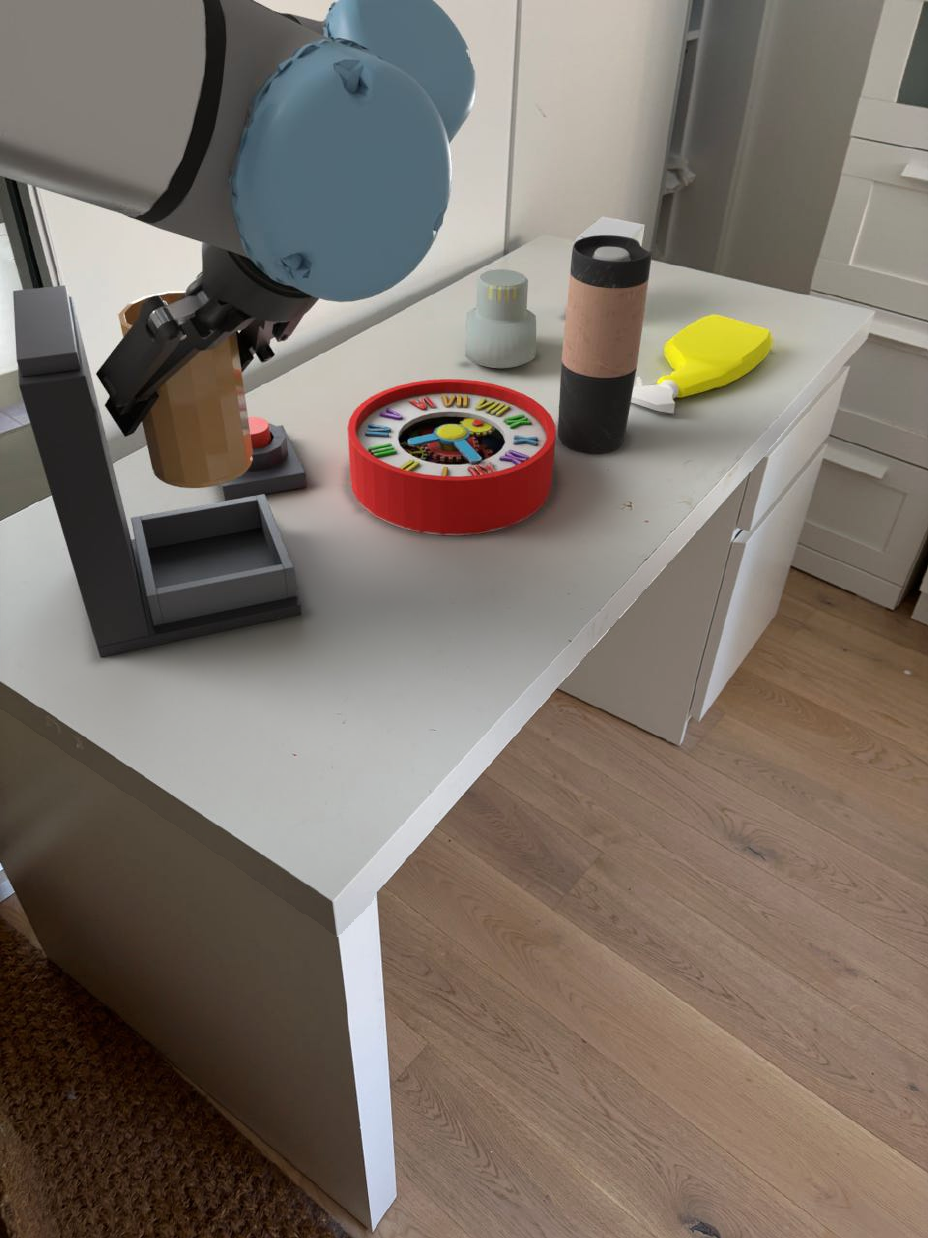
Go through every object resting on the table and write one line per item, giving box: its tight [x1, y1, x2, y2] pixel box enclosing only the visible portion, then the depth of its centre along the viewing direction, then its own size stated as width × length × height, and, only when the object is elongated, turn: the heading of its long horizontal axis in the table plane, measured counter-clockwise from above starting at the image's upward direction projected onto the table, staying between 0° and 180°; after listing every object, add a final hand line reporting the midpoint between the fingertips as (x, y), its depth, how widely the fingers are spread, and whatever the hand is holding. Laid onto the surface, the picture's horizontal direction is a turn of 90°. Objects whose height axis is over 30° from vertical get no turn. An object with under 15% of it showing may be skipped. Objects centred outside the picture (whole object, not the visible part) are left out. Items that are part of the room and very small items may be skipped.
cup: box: [117, 290, 253, 489], centre depth 71 cm, size 8×8×12 cm
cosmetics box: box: [574, 216, 645, 247], centre depth 127 cm, size 10×6×10 cm, turn 155°
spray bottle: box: [631, 313, 774, 414], centre depth 115 cm, size 3×11×24 cm
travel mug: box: [557, 235, 653, 454], centre depth 97 cm, size 8×8×20 cm
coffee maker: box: [12, 285, 303, 658], centre depth 75 cm, size 14×16×24 cm
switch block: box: [219, 422, 308, 501], centre depth 96 cm, size 10×8×4 cm
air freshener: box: [464, 268, 537, 369], centre depth 115 cm, size 11×8×10 cm
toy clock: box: [347, 378, 557, 536], centre depth 95 cm, size 20×6×20 cm
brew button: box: [248, 416, 271, 449], centre depth 95 cm, size 4×4×2 cm
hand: (166, 399), depth 74 cm, fingers closed on cup, 8 cm apart
